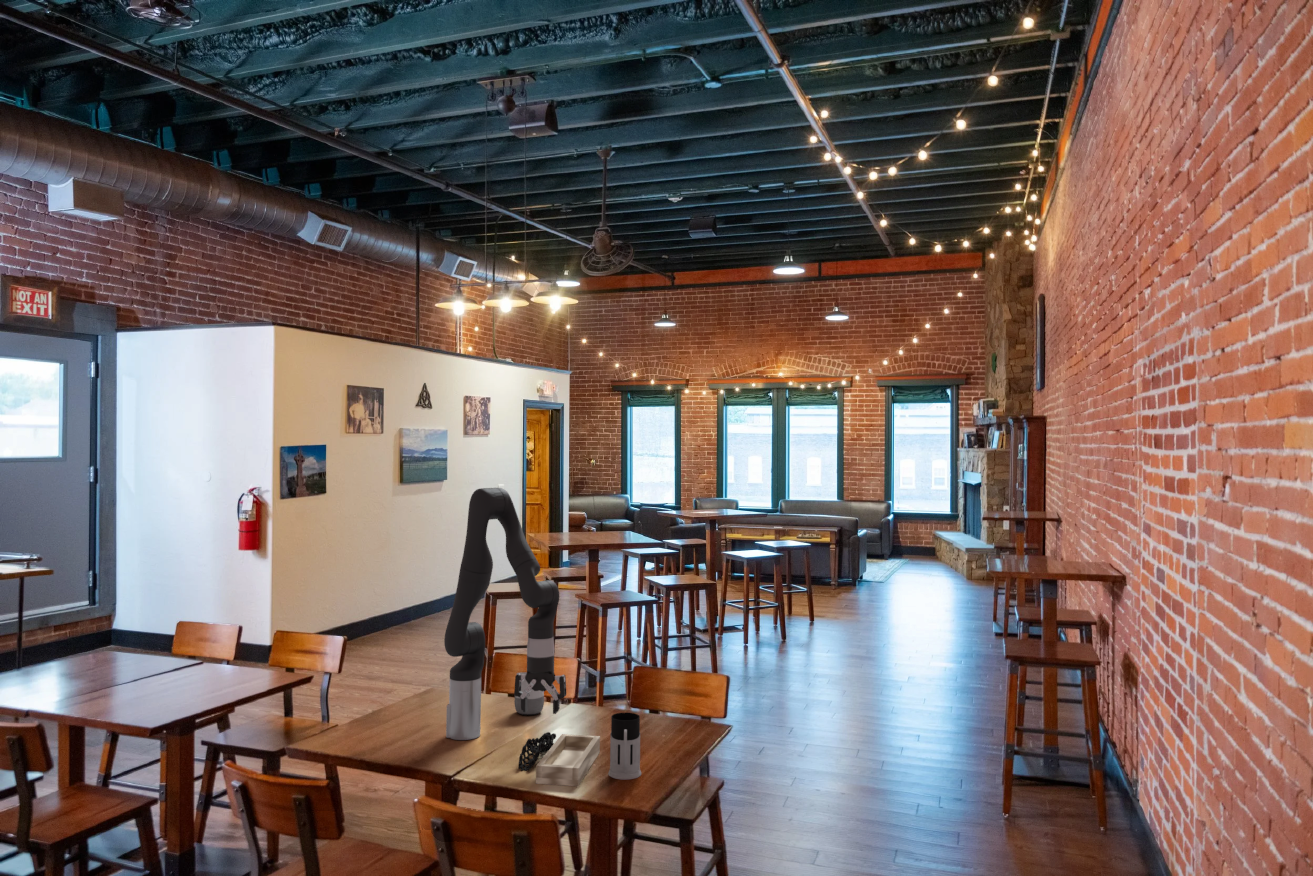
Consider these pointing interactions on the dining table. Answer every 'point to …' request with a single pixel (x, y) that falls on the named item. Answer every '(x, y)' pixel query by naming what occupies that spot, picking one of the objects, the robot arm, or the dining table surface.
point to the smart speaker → (530, 700)
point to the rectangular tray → (568, 760)
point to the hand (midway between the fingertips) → (540, 712)
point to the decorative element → (535, 750)
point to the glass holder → (625, 746)
